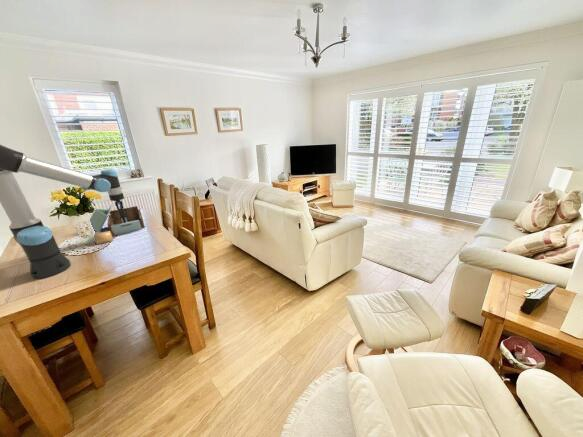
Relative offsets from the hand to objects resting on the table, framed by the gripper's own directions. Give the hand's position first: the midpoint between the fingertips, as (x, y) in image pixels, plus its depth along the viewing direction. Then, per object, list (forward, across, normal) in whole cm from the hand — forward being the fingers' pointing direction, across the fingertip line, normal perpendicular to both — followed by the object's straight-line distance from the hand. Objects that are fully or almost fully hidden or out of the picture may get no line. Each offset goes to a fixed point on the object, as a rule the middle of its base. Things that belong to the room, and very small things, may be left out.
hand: (126, 226), depth 163 cm
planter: (+4, +22, +20) cm, 30 cm away
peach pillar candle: (+5, -7, +13) cm, 16 cm away
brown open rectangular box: (+6, +12, 0) cm, 13 cm away
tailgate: (+4, 0, 0) cm, 4 cm away
